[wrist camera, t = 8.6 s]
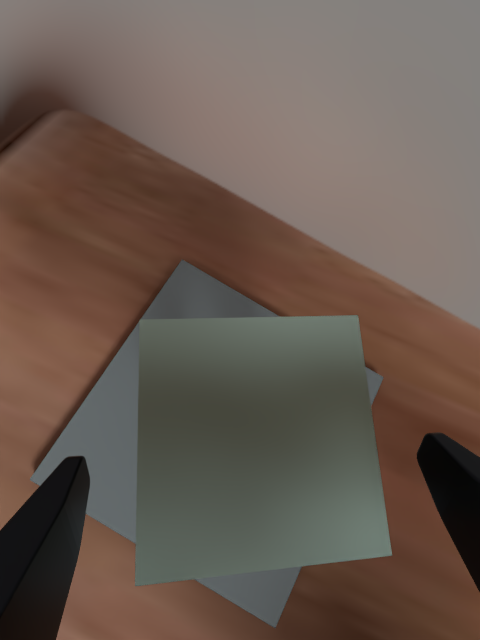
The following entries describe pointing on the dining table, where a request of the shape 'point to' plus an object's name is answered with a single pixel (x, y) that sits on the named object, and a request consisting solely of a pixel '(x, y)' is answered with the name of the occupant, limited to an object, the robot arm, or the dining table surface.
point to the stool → (254, 447)
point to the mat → (122, 434)
